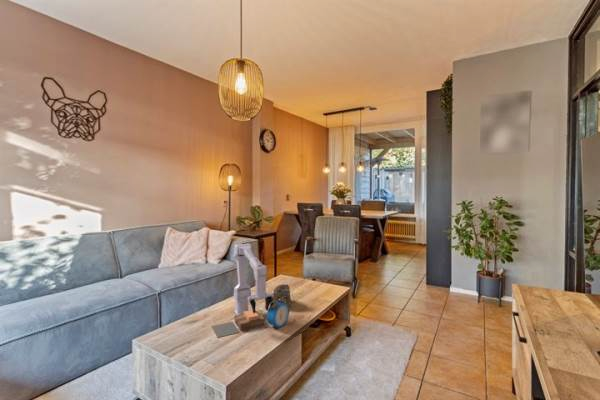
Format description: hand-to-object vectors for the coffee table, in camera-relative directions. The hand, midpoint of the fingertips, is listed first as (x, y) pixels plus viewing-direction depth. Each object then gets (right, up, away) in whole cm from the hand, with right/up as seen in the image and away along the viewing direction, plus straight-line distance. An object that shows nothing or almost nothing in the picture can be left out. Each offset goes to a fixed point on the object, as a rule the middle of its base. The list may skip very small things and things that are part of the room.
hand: (260, 311), depth 164 cm
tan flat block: (-7, -10, +6) cm, 13 cm away
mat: (-19, -10, -1) cm, 22 cm away
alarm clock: (+10, -10, +5) cm, 15 cm away
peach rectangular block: (-6, -6, +6) cm, 11 cm away
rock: (+9, -9, +34) cm, 36 cm away
